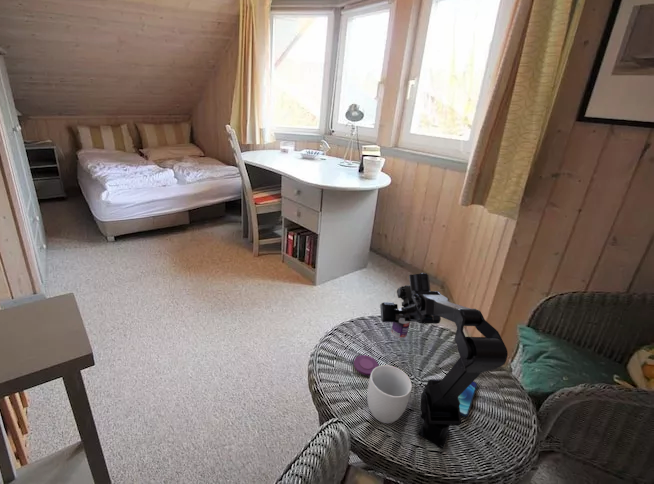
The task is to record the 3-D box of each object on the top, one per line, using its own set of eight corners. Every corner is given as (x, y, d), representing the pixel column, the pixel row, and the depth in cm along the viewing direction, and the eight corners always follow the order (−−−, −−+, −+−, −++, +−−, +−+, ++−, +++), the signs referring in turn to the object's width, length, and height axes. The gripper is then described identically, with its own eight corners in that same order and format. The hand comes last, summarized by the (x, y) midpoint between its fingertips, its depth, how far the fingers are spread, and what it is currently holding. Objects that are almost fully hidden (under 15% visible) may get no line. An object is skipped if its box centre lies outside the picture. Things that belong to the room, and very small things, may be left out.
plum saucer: (371, 379, 112) (372, 377, 112) (349, 367, 116) (349, 364, 116) (382, 365, 118) (382, 362, 117) (360, 353, 122) (360, 351, 122)
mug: (386, 384, 111) (394, 352, 105) (418, 409, 103) (428, 376, 97) (355, 410, 102) (362, 377, 96) (387, 438, 94) (396, 404, 89)
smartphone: (477, 383, 111) (467, 416, 100) (477, 385, 111) (466, 418, 100) (452, 371, 115) (439, 401, 104) (451, 373, 115) (439, 404, 104)
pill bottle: (402, 341, 122) (408, 318, 118) (388, 333, 125) (393, 311, 121) (409, 333, 125) (414, 311, 121) (395, 326, 129) (400, 304, 124)
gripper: (445, 284, 112) (425, 294, 126) (386, 283, 112) (373, 292, 126) (450, 320, 108) (428, 326, 123) (389, 319, 108) (375, 324, 122)
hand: (401, 316), depth 124 cm, fingers closed on pill bottle, 5 cm apart
